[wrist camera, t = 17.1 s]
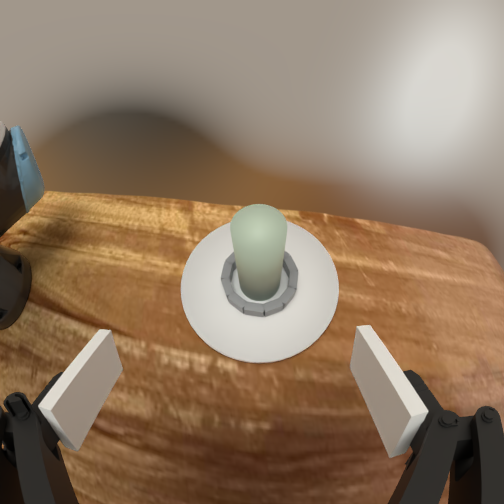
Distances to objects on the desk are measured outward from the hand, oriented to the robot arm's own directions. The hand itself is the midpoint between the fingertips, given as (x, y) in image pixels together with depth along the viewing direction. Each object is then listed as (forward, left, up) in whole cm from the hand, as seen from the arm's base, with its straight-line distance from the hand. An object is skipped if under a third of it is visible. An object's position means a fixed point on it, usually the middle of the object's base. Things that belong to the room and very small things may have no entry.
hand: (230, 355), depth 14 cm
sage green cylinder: (0, +12, -18) cm, 22 cm away
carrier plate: (0, +12, -19) cm, 23 cm away
